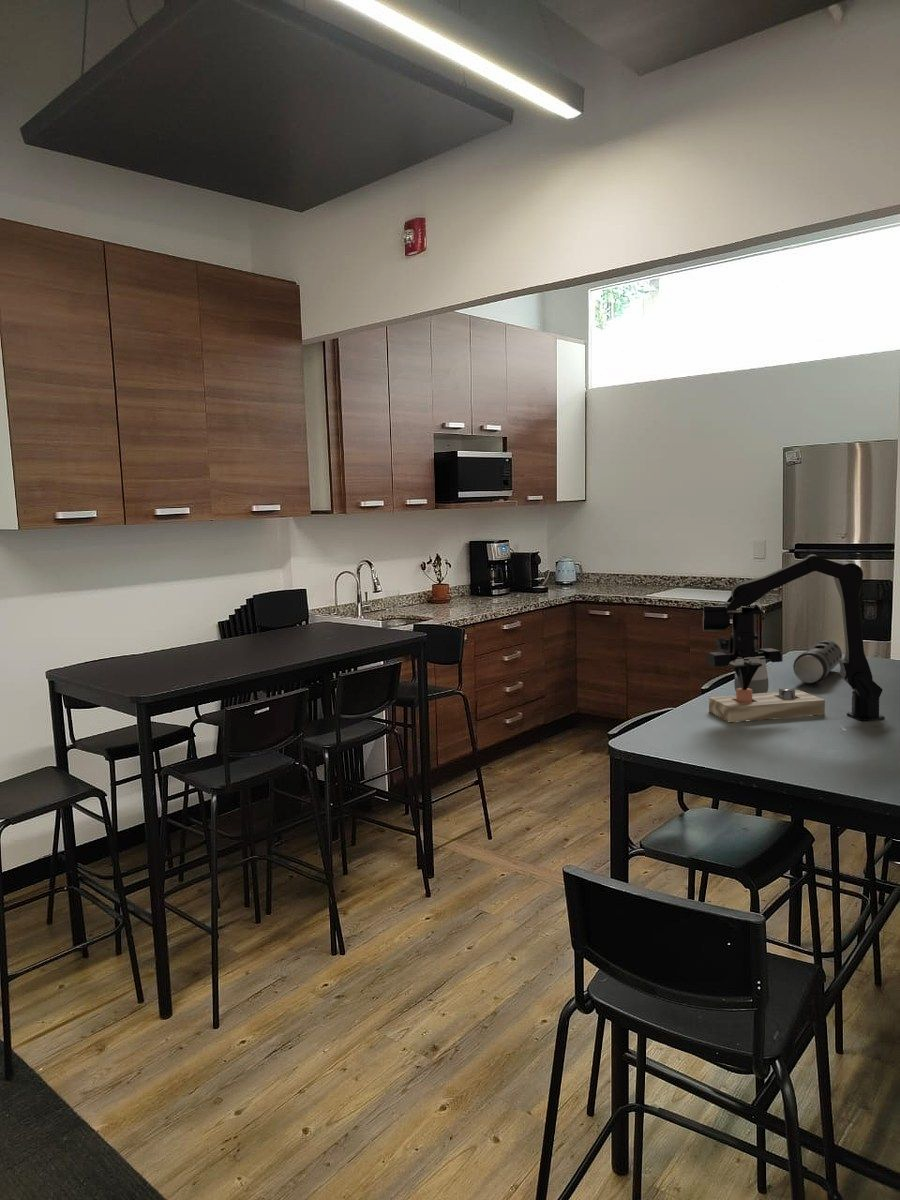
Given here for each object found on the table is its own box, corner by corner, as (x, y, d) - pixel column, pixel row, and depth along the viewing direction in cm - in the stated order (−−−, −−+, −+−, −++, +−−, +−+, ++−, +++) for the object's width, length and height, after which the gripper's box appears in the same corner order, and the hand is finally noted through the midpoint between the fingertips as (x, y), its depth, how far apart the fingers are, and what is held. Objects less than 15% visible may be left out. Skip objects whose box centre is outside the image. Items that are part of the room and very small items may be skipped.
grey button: (798, 710, 214) (798, 690, 214) (784, 712, 214) (783, 691, 213) (789, 707, 218) (789, 687, 217) (776, 708, 218) (775, 688, 217)
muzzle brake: (843, 671, 262) (843, 640, 261) (825, 689, 239) (825, 654, 238) (811, 669, 267) (811, 638, 266) (791, 686, 245) (791, 652, 244)
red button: (755, 711, 212) (755, 690, 212) (740, 712, 212) (740, 691, 211) (747, 707, 216) (747, 687, 216) (733, 708, 216) (733, 688, 215)
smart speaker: (769, 700, 229) (769, 651, 227) (734, 699, 232) (734, 651, 230) (767, 693, 238) (767, 645, 236) (734, 692, 241) (734, 645, 239)
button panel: (824, 714, 211) (824, 699, 210) (730, 722, 208) (729, 707, 207) (799, 704, 223) (799, 690, 222) (709, 711, 219) (708, 697, 219)
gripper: (761, 624, 221) (762, 680, 223) (696, 629, 219) (697, 685, 220) (783, 630, 210) (783, 689, 212) (715, 634, 208) (716, 694, 209)
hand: (744, 689), depth 214 cm, fingers closed, pressing on red button
